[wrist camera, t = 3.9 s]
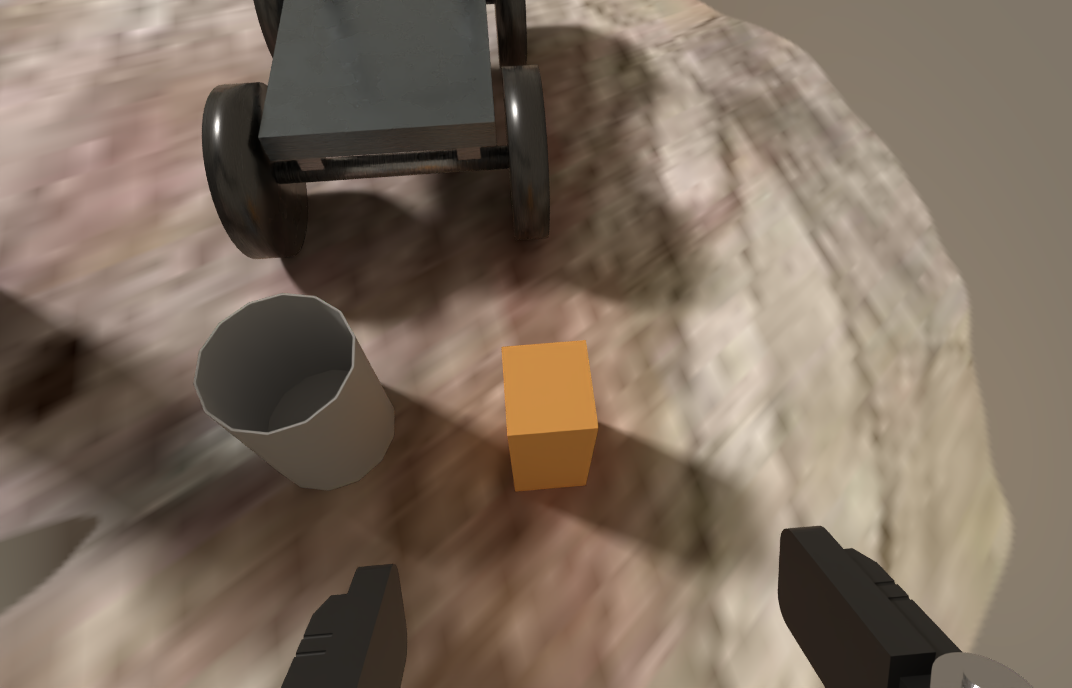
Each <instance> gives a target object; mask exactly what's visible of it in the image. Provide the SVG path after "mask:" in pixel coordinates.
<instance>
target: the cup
mask: <svg viewBox="0 0 1072 688" xmlns="http://www.w3.org/2000/svg"><path fill="white" fill-rule="evenodd" d="M193 384H194V387H195V389H196V392H197V394H198V397H199V399H200V402H201V404H202V407H203V410H204V412H205V413H206V414H207V415H209V416H210V417H211V418H212V419H213V420H215V421H216V422H217V423H218V424H220V425H221V426H222V427H223V428H225V429H226V430H227V431H228V432H230V433H231V434H232V435H233V436H235V437H236V438H237V439H238V440H240V441H241V442H242V443H243V444H245V445H246V446H247V447H248V448H250V449H251V450H252V451H253V452H255V453H256V454H257V455H258V456H260V457H261V458H262V459H263V460H264V461H266V462H267V463H268V464H269V465H271V466H272V467H273V468H274V469H276V470H277V471H278V472H279V473H281V474H282V475H284V476H285V477H287V478H288V479H289V480H291V481H292V482H294V483H295V484H297V485H298V486H299V487H301V488H310V489H319V490H328V491H330V490H333V489H336V488H339V487H342V486H345V485H348V484H351V483H354V482H357V481H359V480H360V479H361V478H363V477H364V476H365V475H366V474H367V473H368V472H369V471H371V470H372V469H373V468H374V467H375V466H376V465H378V464H379V463H380V462H381V461H382V459H383V457H384V455H385V453H386V451H387V449H388V447H389V445H390V443H391V441H392V439H393V437H394V408H393V406H392V404H391V402H390V400H389V398H388V396H387V395H386V393H385V391H384V389H383V387H382V385H381V383H380V382H379V380H378V378H377V376H376V374H375V372H374V370H373V369H372V367H371V365H370V363H369V361H368V359H367V357H366V356H365V354H364V352H363V350H362V348H361V346H360V344H359V342H358V341H357V339H356V337H355V335H354V333H353V332H352V330H351V328H350V326H349V324H348V323H347V321H346V319H345V317H344V315H343V314H342V312H341V311H340V310H338V309H337V308H335V307H333V306H331V305H330V304H328V303H326V302H325V301H323V300H321V299H320V298H318V297H316V296H309V295H298V294H287V293H281V294H278V295H274V296H271V297H267V298H263V299H260V300H256V301H253V302H249V303H247V304H246V305H244V306H243V307H242V308H240V309H239V310H237V311H236V312H234V313H233V314H231V315H230V316H229V317H227V318H226V319H224V320H223V321H221V322H220V323H219V324H218V325H217V327H216V328H215V330H214V331H213V332H212V334H211V335H210V337H209V338H208V340H207V341H206V342H205V344H204V345H203V347H202V348H201V350H200V351H199V354H198V360H197V366H196V372H195V377H194V383H193Z"/></svg>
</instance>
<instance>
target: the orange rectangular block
mask: <svg viewBox="0 0 1072 688" xmlns="http://www.w3.org/2000/svg"><path fill="white" fill-rule="evenodd" d="M502 361H503V376H504V391H505V406H506V421H507V436H508V443H509V450H510V457H511V465H512V472H513V479H514V486H515V492H516V491H528V490H539V489H550V488H562V487H573V486H585V485H586V482H587V478H588V473H589V468H590V464H591V459H592V455H593V450H594V446H595V441H596V437H597V432H598V422H597V415H596V408H595V401H594V394H593V387H592V380H591V373H590V366H589V359H588V352H587V346H586V340H583V341H570V342H557V343H545V344H532V345H520V346H507V347H502Z"/></svg>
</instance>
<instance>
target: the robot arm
mask: <svg viewBox="0 0 1072 688" xmlns="http://www.w3.org/2000/svg"><path fill="white" fill-rule="evenodd" d="M778 600H779V606H780V610H781V613H782V616H783V619H784V621H785V623H786V625H787V627H788V628H789V630H790V631H791V633H792V635H793V636H794V638H795V640H796V641H797V643H798V644H799V646H800V648H801V649H802V651H803V652H804V654H805V656H806V657H807V659H808V660H809V662H810V664H811V665H812V667H813V668H814V670H815V672H816V673H817V675H818V677H819V678H820V680H821V681H822V683H823V685H824V686H825V688H1033V687H1032V686H1031V685H1030V684H1029V683H1028V681H1027V680H1025V679H1024V678H1023V677H1022V676H1020V675H1019V674H1018V673H1016V672H1015V671H1014V670H1012V669H1010V668H1009V667H1007V666H1005V665H1003V664H1001V663H999V662H997V661H995V660H992V659H990V658H987V657H984V656H980V655H976V654H971V653H963V652H962V651H961V650H960V649H959V648H958V647H957V646H956V645H955V644H954V643H953V642H952V641H951V640H950V639H949V638H948V637H947V636H946V635H945V633H944V632H943V631H942V630H941V629H940V628H939V627H938V626H937V625H936V624H935V623H934V622H933V621H932V620H931V619H930V618H929V617H928V616H927V615H926V614H925V612H924V611H923V610H922V609H921V608H920V607H919V606H918V605H917V604H916V603H915V602H914V601H913V600H910V599H909V596H908V595H907V594H906V593H905V591H904V590H903V589H902V588H901V587H900V586H899V585H898V584H897V585H895V582H894V580H893V579H892V578H891V577H890V576H889V575H888V574H887V573H886V572H885V570H884V569H883V568H882V567H881V566H880V565H879V564H878V563H877V562H875V561H873V560H872V559H870V558H868V557H866V556H865V555H863V554H861V553H860V552H858V551H856V550H855V549H853V548H849V549H843V548H842V547H841V546H840V544H839V543H838V542H837V541H836V540H835V539H834V538H833V537H832V536H831V534H830V533H829V532H828V531H827V530H826V529H825V528H824V527H822V526H811V527H799V528H788V529H784V530H783V531H782V533H781V537H780V555H779V576H778ZM406 655H407V628H406V620H405V614H404V607H403V600H402V593H401V587H400V580H399V573H398V569H397V566H396V565H395V564H387V565H376V566H364V567H358V568H357V570H356V572H355V575H354V577H353V580H352V583H351V585H350V588H349V591H348V593H347V594H342V595H331V596H330V597H329V598H328V599H327V600H326V601H325V602H324V603H323V604H322V605H321V607H320V608H319V609H318V610H317V611H316V612H315V613H314V614H313V615H312V618H311V620H310V622H309V624H308V627H307V629H306V631H305V634H304V639H303V640H301V643H300V645H299V647H298V650H297V652H296V657H294V659H293V661H292V663H291V666H290V668H289V670H288V673H287V675H286V677H285V680H284V682H283V684H282V686H281V688H400V686H401V681H402V677H403V672H404V667H405V662H406Z"/></svg>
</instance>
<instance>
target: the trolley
mask: <svg viewBox="0 0 1072 688" xmlns="http://www.w3.org/2000/svg"><path fill="white" fill-rule="evenodd" d="M486 4H494V5H495V18H496V31H497V43H498V55H499V65H500V68H502V78H503V95H504V111H505V125H506V139H507V146H497V142H496V129H495V116H494V103H493V90H492V77H491V64H490V51H489V38H488V25H487V12H486ZM254 5H255V9H256V13H257V16H258V20H259V23H260V27H261V30H262V33H263V36H264V39H265V41H266V44H267V46H268V49H269V51H270V53H271V56H272V58H273V61H272V66H271V72H270V77H269V82H268V86H267V85H266V84H264V83H260V82H256V83H240V84H224V85H219V86H217V87H215V88H214V89H213V90H212V91H211V93H210V94H209V96H208V98H207V101H206V104H205V108H204V113H203V121H202V149H203V158H204V165H205V171H206V176H207V181H208V185H209V189H210V192H211V196H212V199H213V202H214V205H215V208H216V210H217V213H218V215H219V218H220V220H221V222H222V224H223V226H224V228H225V230H226V232H227V234H228V235H229V237H230V239H231V240H232V242H233V243H234V244H235V245H236V247H237V248H238V249H239V250H240V251H241V252H242V253H243V254H245V255H246V256H247V257H250V258H252V259H266V258H280V257H291V256H294V255H296V254H297V253H298V252H299V251H300V249H301V247H302V245H303V242H304V238H305V234H306V228H307V214H308V206H307V189H306V182H320V181H335V180H349V179H363V178H378V177H392V176H407V175H421V174H436V173H450V172H464V171H479V170H493V169H508V168H509V179H510V191H511V203H512V215H513V226H514V235H515V240H525V239H539V238H548V235H549V221H550V199H549V169H548V150H547V135H546V122H545V111H544V100H543V92H542V84H541V77H540V71H539V67H538V65H526V61H527V31H526V4H525V0H254ZM486 146H493V147H486ZM442 149H449V150H442ZM427 150H434V151H427ZM413 151H419V152H413ZM398 152H405V153H398ZM383 153H390V154H383ZM369 154H375V155H369ZM354 155H361V156H354ZM339 156H346V157H339ZM326 157H331V158H326Z"/></svg>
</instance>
